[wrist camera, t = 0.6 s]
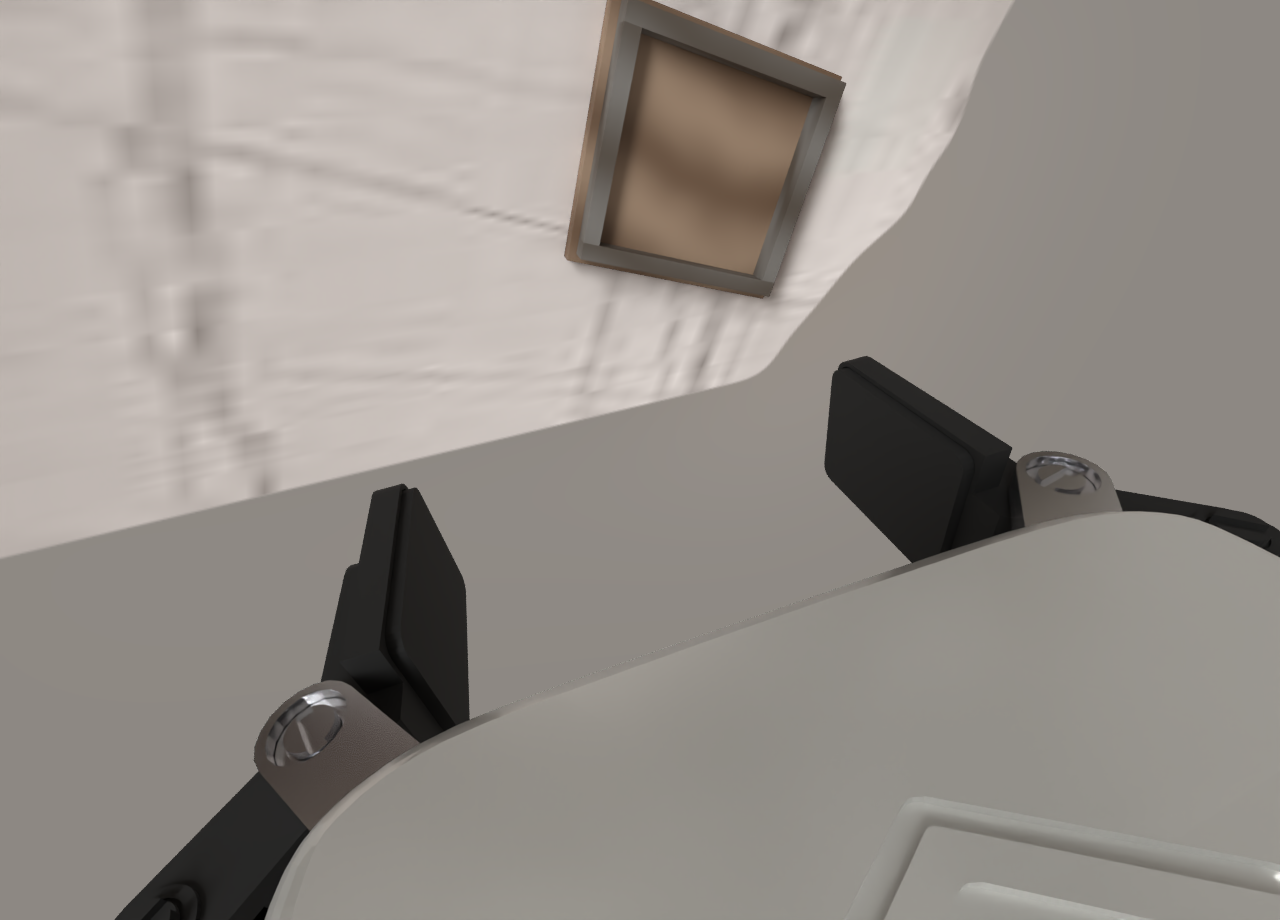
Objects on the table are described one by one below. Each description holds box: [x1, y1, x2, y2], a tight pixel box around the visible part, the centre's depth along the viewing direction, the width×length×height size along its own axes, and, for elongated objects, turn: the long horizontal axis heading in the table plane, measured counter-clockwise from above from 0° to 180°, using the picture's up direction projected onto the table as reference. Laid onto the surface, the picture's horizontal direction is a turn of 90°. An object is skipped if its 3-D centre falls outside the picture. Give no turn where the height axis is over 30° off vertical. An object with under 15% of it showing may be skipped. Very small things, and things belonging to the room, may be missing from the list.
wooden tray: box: [564, 0, 846, 299], centre depth 34 cm, size 14×15×3 cm
